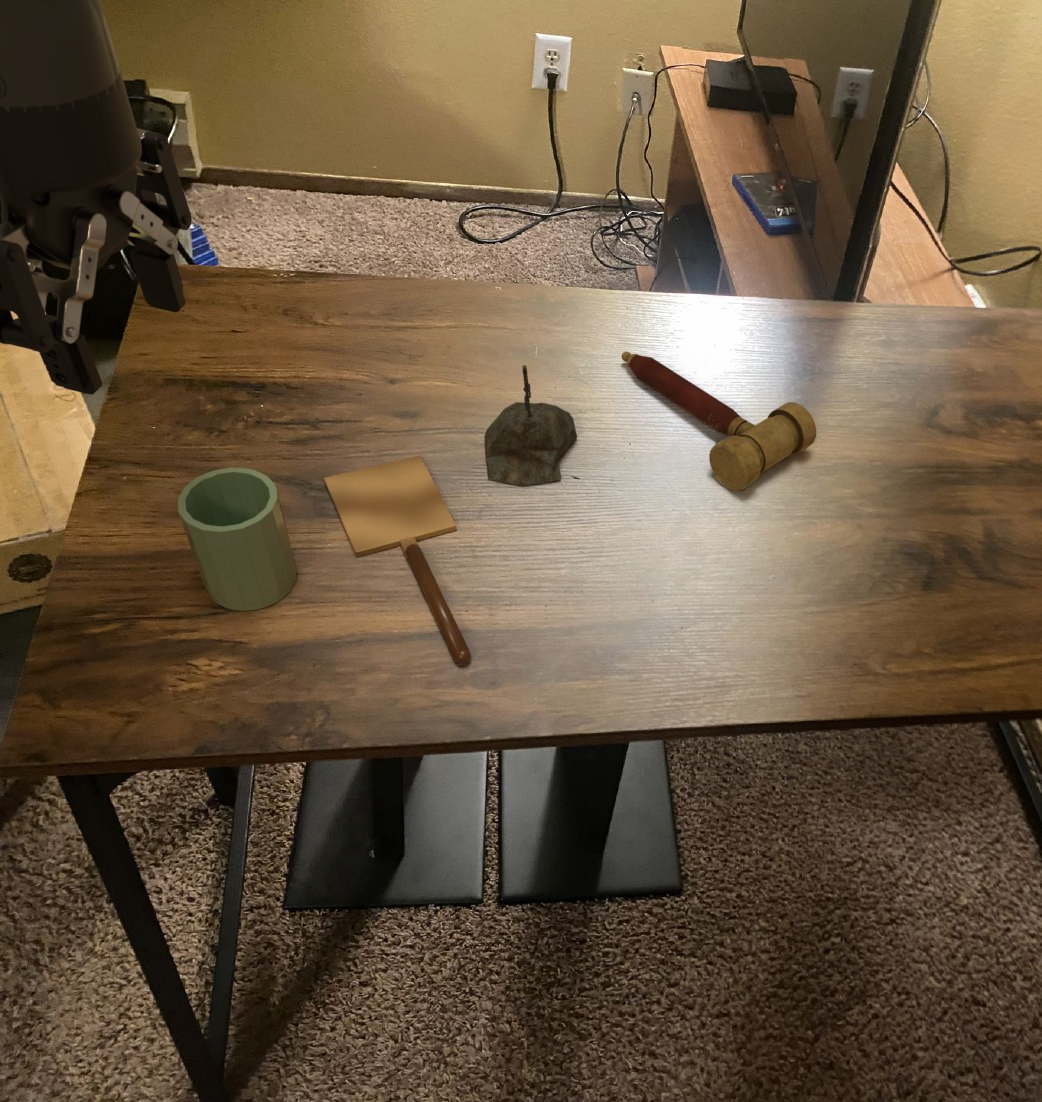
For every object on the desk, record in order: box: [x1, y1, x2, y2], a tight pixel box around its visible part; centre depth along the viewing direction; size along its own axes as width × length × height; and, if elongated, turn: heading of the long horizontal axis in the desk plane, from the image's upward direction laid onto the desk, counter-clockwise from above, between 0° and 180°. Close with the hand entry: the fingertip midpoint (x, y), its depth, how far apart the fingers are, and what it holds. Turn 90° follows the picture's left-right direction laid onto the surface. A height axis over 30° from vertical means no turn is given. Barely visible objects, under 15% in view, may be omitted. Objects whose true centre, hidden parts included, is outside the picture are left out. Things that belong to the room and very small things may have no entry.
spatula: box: [323, 454, 472, 665], centre depth 77 cm, size 22×8×1 cm, turn 31°
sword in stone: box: [483, 364, 578, 487], centre depth 84 cm, size 10×8×12 cm
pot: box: [176, 466, 298, 612], centre depth 71 cm, size 6×6×8 cm
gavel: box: [621, 351, 817, 492], centre depth 94 cm, size 21×5×10 cm
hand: (126, 345), depth 59 cm, fingers open, 8 cm apart
